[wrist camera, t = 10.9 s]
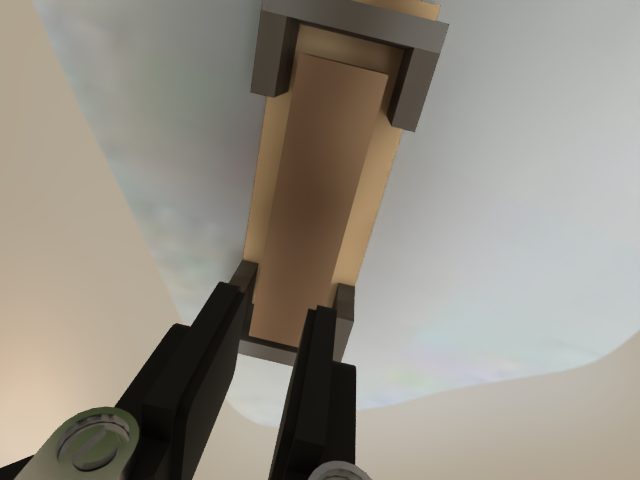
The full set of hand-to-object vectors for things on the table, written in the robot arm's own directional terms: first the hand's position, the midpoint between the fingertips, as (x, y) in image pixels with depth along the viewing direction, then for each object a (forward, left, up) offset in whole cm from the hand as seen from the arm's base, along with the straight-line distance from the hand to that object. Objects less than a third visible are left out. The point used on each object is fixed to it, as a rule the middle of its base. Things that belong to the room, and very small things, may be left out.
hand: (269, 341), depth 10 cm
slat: (0, 0, -12) cm, 12 cm away
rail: (0, 0, -13) cm, 13 cm away
